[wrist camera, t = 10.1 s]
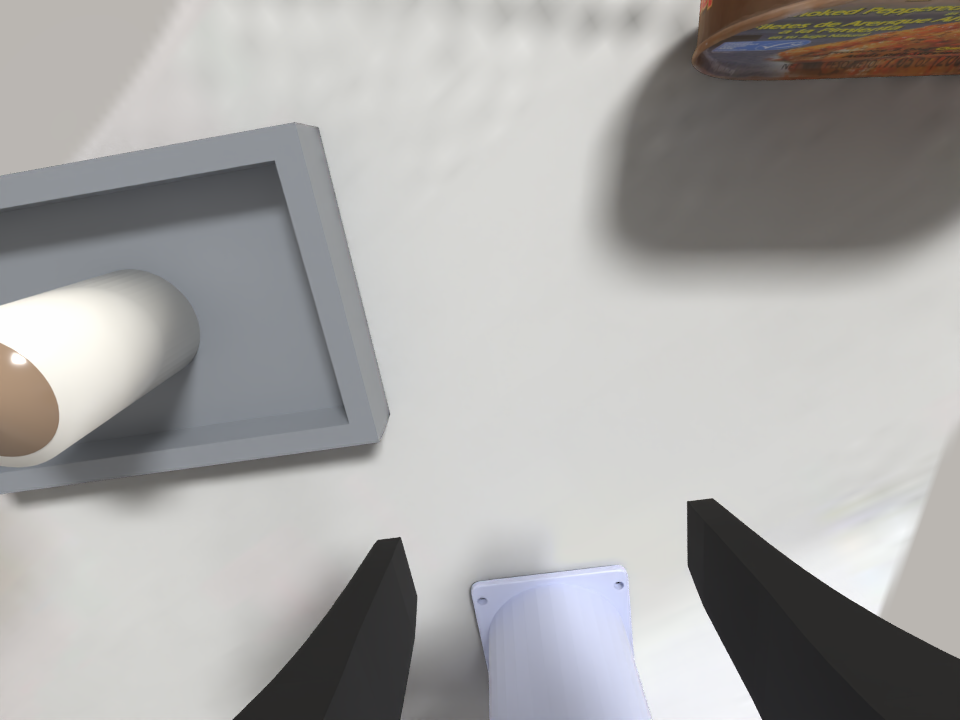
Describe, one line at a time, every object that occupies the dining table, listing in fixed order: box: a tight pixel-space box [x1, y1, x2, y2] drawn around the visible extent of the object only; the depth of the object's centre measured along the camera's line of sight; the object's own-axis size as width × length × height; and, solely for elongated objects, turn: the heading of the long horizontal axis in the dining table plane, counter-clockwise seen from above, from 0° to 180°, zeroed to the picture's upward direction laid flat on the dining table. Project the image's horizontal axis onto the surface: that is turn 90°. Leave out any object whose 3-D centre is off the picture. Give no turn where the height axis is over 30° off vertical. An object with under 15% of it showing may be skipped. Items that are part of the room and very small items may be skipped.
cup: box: [0, 269, 200, 467], centre depth 18 cm, size 5×5×7 cm
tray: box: [0, 122, 390, 494], centre depth 20 cm, size 12×18×2 cm, turn 99°
